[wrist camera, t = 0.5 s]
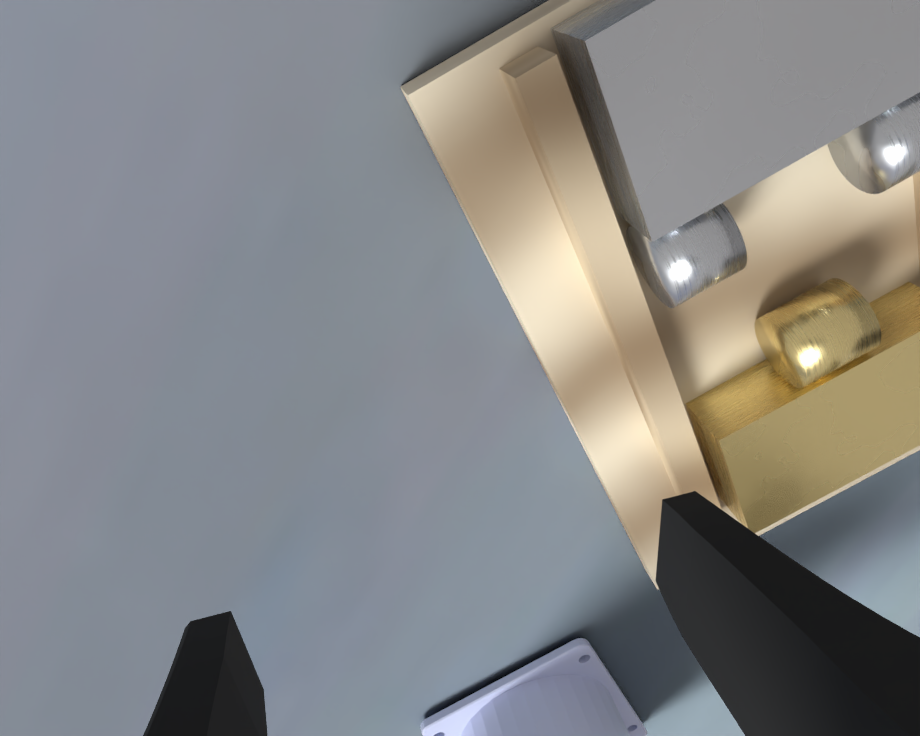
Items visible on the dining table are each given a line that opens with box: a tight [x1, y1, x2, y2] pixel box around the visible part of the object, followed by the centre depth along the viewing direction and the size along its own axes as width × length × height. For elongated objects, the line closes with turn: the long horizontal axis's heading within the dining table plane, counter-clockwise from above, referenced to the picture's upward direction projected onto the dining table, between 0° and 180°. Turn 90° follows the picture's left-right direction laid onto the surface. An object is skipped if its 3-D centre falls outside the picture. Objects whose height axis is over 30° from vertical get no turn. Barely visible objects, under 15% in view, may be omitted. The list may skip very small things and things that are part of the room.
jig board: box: [400, 0, 920, 590], centre depth 21 cm, size 21×15×2 cm
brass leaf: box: [685, 278, 920, 533], centre depth 22 cm, size 7×8×2 cm
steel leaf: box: [550, 0, 920, 308], centre depth 17 cm, size 7×8×2 cm
